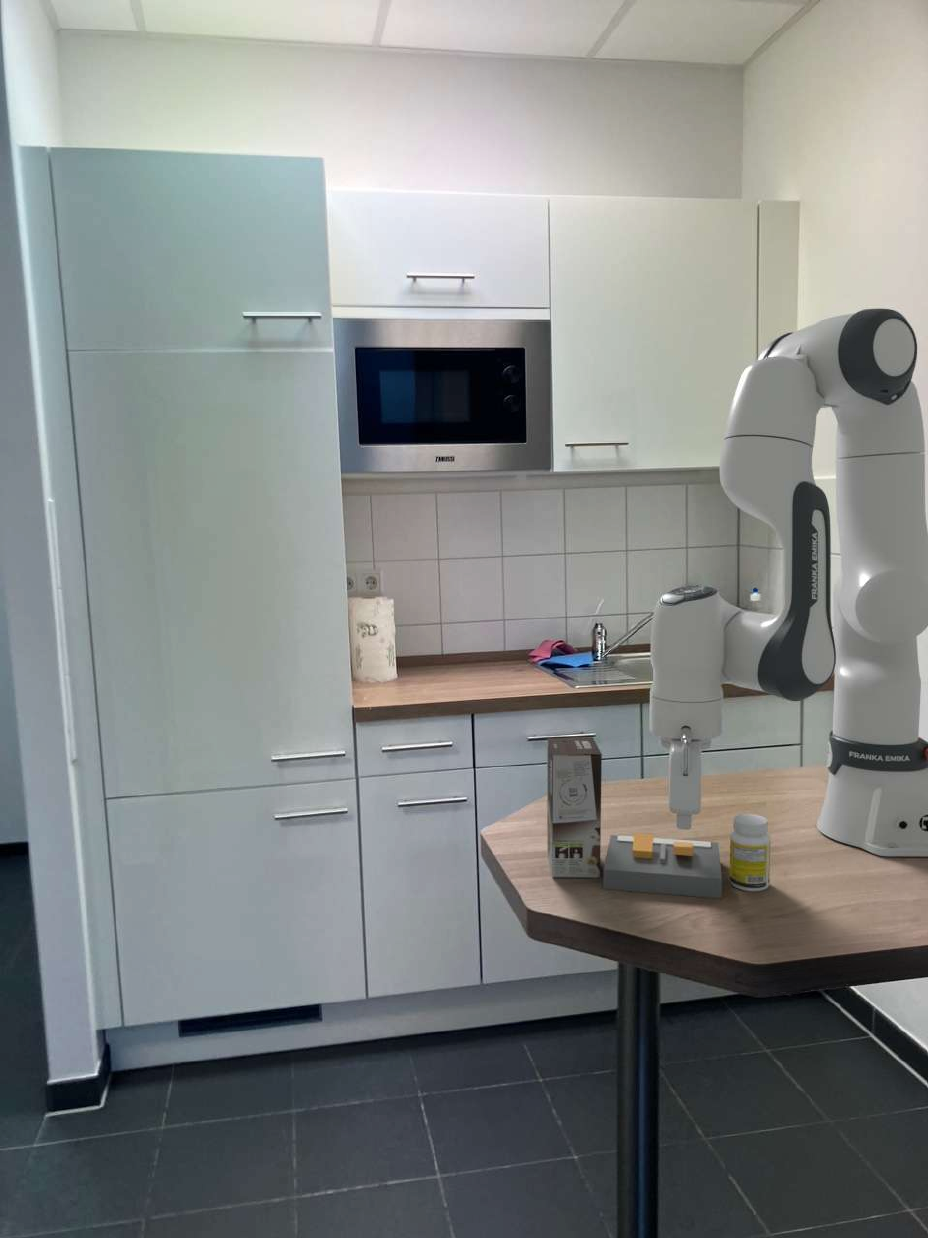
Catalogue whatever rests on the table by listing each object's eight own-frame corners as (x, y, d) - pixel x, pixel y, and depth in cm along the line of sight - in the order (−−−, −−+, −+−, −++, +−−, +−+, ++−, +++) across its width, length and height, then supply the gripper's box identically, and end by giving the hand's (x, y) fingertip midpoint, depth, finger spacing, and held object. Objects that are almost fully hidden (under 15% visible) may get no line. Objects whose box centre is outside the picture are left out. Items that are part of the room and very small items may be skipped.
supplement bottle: (741, 873, 118) (743, 809, 117) (776, 884, 115) (778, 818, 114) (721, 884, 115) (723, 819, 114) (757, 896, 111) (759, 828, 110)
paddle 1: (653, 841, 120) (653, 834, 119) (652, 858, 116) (652, 851, 116) (634, 839, 120) (634, 833, 120) (632, 857, 117) (632, 850, 116)
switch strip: (717, 860, 122) (718, 838, 122) (721, 898, 111) (722, 873, 110) (610, 852, 125) (610, 830, 125) (603, 888, 114) (603, 864, 113)
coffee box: (602, 878, 117) (603, 754, 115) (551, 878, 117) (551, 754, 115) (593, 851, 126) (594, 735, 124) (546, 851, 126) (546, 736, 124)
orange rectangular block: (692, 850, 119) (692, 843, 119) (693, 856, 115) (693, 847, 115) (673, 849, 119) (673, 841, 119) (673, 854, 115) (673, 846, 115)
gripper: (715, 740, 104) (712, 858, 106) (709, 702, 124) (707, 802, 126) (657, 737, 105) (656, 854, 107) (661, 700, 125) (660, 799, 127)
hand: (683, 825), depth 117 cm, fingers closed
